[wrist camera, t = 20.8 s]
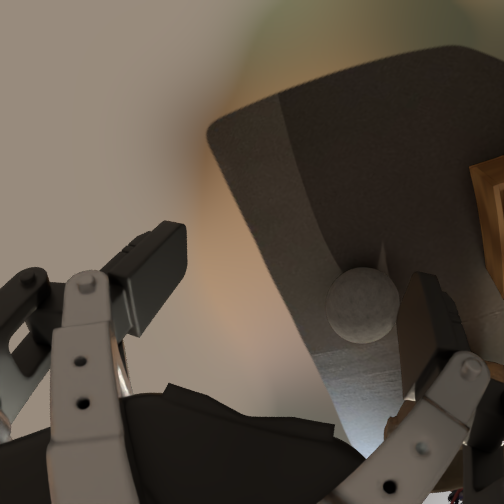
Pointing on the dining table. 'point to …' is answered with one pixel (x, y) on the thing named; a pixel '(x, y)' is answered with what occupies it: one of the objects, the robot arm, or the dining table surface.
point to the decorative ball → (362, 305)
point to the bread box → (491, 214)
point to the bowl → (454, 472)
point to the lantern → (456, 496)
